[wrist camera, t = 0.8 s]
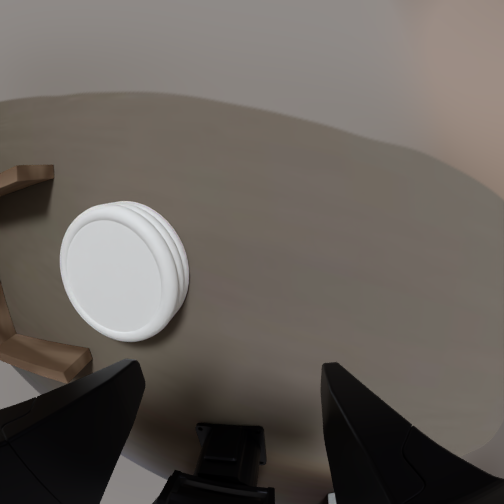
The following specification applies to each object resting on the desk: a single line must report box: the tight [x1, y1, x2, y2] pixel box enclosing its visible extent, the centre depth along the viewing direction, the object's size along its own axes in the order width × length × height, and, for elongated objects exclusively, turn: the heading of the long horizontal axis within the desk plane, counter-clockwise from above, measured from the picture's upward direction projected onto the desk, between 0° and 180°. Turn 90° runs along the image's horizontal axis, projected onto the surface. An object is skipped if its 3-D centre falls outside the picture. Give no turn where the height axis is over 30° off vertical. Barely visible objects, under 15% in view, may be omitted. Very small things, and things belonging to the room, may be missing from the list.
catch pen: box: [0, 165, 92, 383], centre depth 20 cm, size 18×14×4 cm
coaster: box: [60, 201, 189, 342], centre depth 19 cm, size 10×10×4 cm
